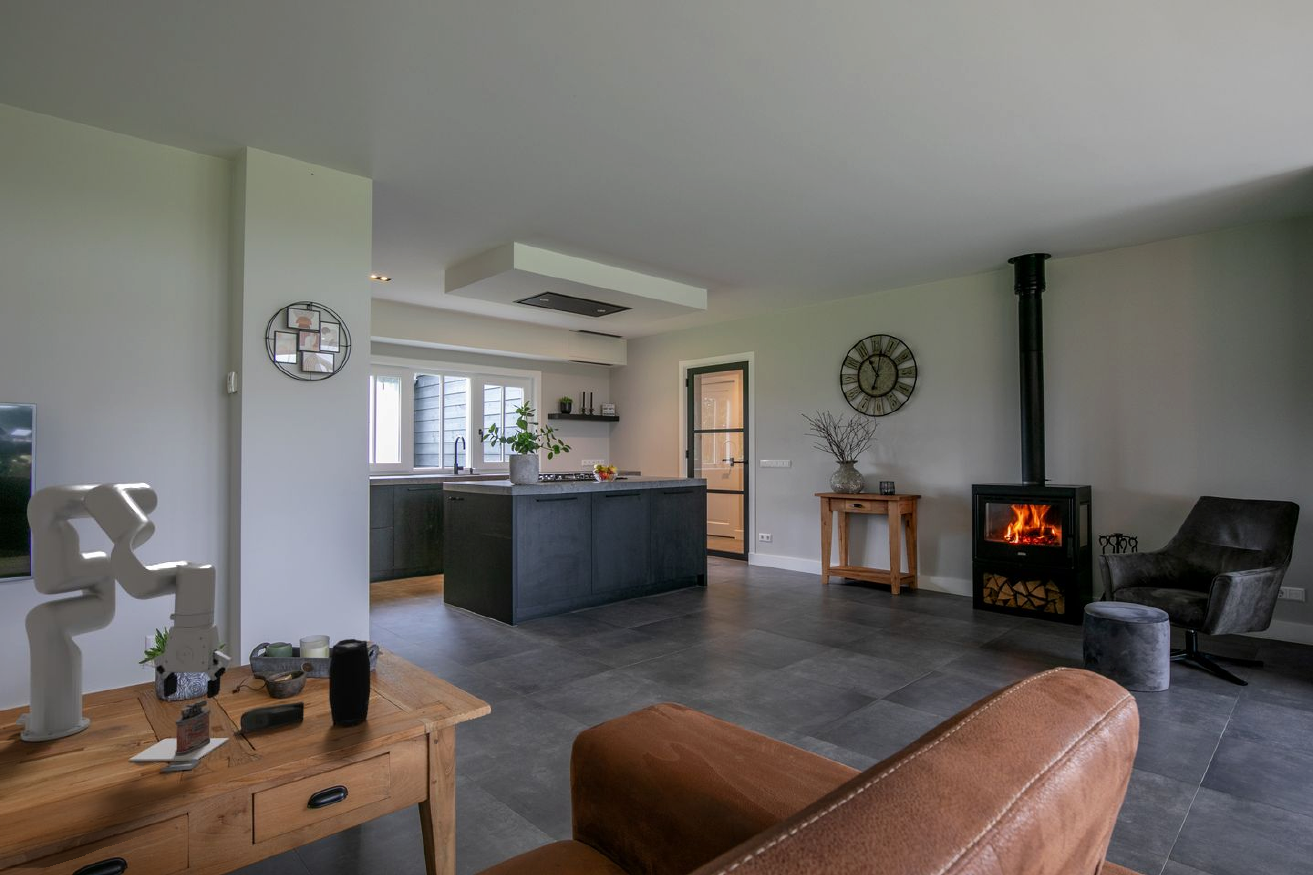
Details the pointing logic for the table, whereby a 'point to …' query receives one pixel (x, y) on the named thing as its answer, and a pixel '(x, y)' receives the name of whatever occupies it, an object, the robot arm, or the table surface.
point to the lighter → (192, 728)
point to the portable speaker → (349, 682)
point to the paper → (168, 747)
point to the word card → (180, 766)
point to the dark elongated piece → (271, 717)
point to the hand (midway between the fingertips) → (191, 695)
